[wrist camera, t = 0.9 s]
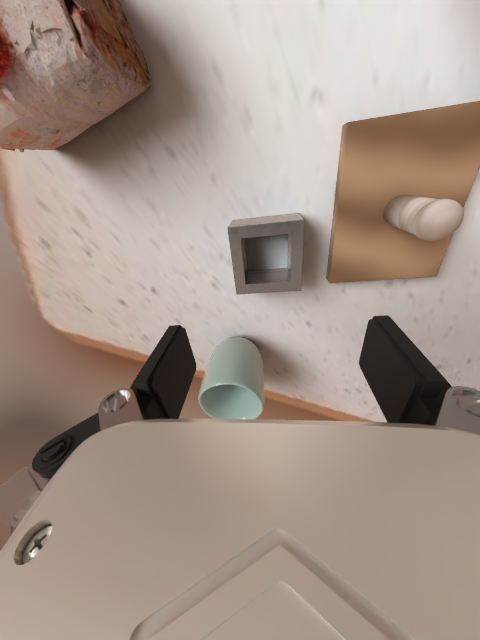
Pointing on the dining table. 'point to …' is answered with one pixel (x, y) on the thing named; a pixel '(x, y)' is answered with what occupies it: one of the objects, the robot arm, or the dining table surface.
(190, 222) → the dining table surface
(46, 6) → the food item
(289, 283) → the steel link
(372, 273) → the brown flat pegged piece
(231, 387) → the cup
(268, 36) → the dining table surface
